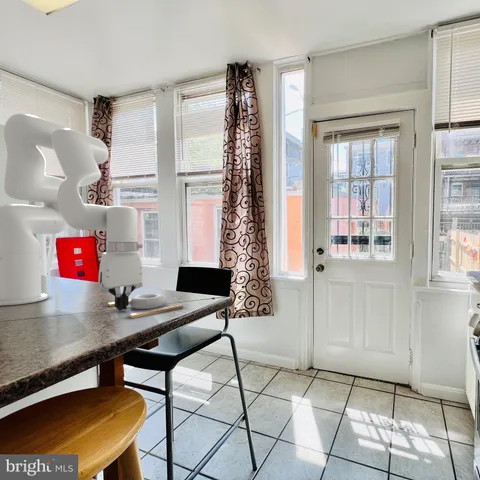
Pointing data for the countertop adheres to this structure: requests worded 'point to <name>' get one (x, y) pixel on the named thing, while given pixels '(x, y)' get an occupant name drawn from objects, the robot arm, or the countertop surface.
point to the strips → (150, 310)
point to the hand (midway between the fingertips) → (121, 309)
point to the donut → (147, 301)
